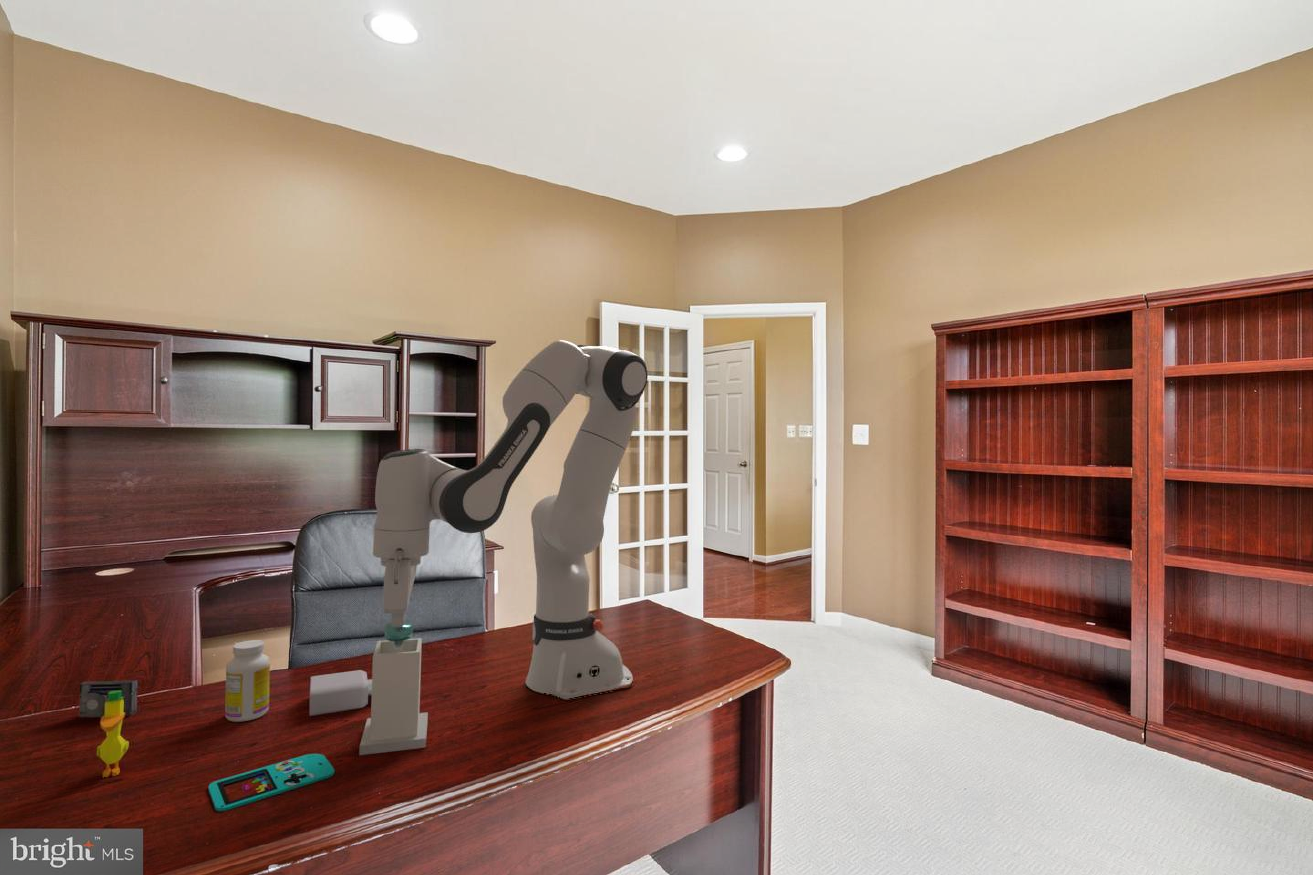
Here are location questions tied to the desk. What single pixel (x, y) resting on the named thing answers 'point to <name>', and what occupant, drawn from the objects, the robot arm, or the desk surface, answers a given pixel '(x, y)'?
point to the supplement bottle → (247, 682)
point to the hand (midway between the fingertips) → (398, 625)
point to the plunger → (398, 635)
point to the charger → (339, 692)
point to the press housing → (395, 700)
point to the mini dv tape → (106, 697)
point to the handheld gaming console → (274, 779)
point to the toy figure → (112, 733)
